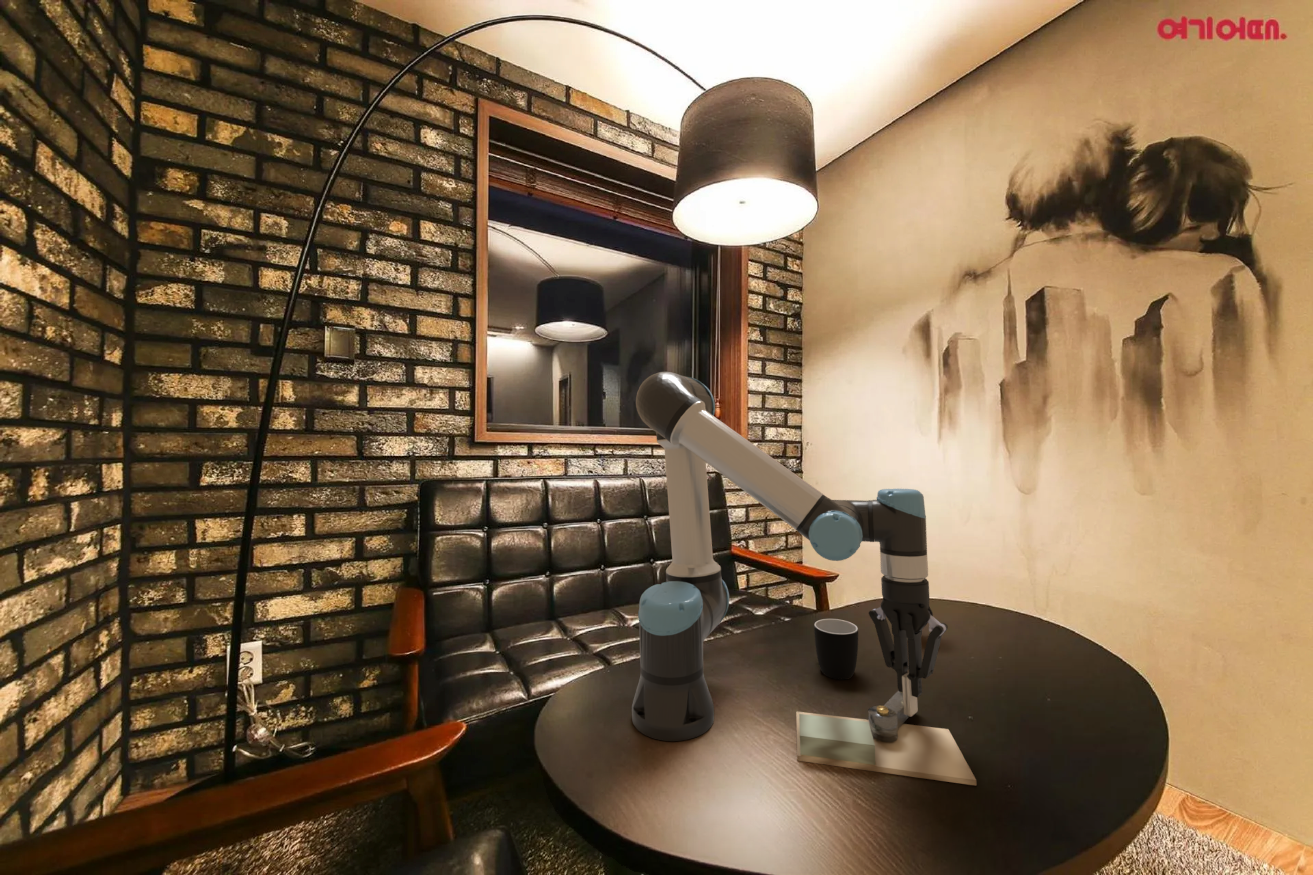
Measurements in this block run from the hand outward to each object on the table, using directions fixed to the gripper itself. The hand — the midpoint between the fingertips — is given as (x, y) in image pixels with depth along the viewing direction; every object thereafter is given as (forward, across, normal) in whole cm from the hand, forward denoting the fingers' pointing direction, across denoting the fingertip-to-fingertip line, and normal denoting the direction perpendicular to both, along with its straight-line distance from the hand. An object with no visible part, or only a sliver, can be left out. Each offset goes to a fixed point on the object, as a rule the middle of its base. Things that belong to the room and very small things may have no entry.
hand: (910, 712), depth 86 cm
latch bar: (+1, +2, +2) cm, 3 cm away
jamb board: (+3, +1, +10) cm, 10 cm away
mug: (+2, +21, -9) cm, 23 cm away
